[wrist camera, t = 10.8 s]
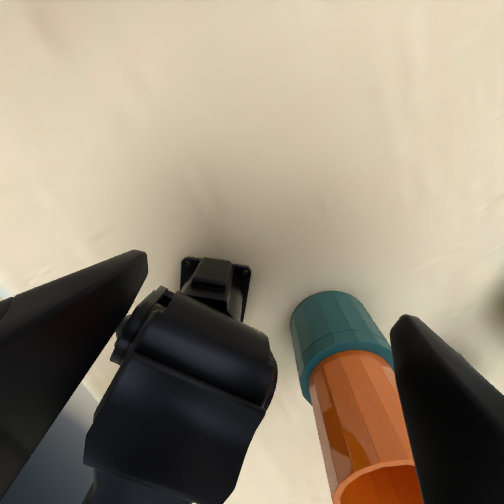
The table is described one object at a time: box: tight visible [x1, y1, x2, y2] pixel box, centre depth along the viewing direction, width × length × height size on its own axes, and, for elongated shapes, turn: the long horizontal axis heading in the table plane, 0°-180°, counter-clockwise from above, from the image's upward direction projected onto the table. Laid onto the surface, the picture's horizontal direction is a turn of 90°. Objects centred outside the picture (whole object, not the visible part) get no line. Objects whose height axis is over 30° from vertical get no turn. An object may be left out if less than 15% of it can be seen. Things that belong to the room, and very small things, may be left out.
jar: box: [290, 291, 394, 405], centre depth 22 cm, size 8×8×7 cm
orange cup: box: [309, 350, 423, 504], centre depth 16 cm, size 6×6×7 cm
